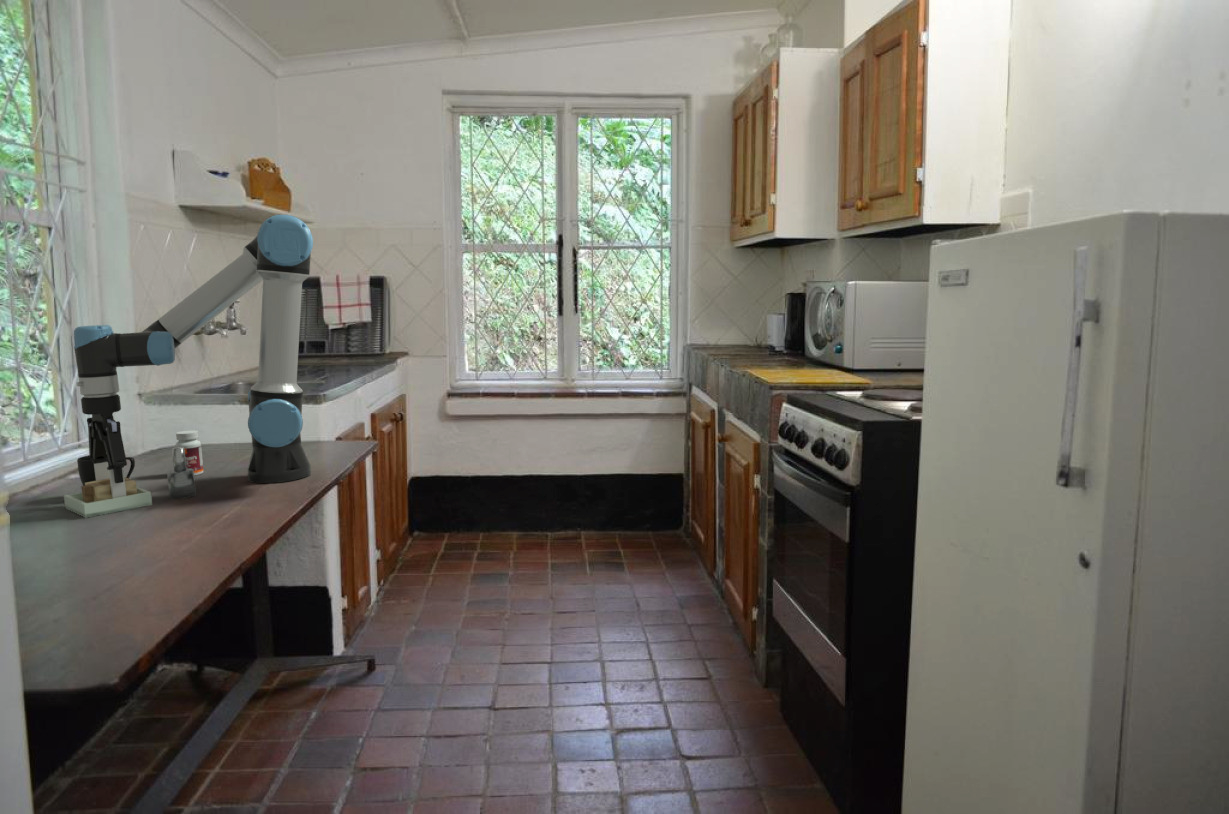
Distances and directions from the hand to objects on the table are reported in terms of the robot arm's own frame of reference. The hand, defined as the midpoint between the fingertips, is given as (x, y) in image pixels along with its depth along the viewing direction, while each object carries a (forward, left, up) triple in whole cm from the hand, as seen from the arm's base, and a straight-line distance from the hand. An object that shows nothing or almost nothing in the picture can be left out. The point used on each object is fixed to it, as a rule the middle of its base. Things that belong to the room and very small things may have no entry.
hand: (111, 493), depth 200 cm
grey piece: (-12, -7, -3) cm, 15 cm away
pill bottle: (-4, -32, -3) cm, 32 cm away
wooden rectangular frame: (0, 0, -1) cm, 1 cm away
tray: (+1, +1, -3) cm, 3 cm away
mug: (+6, -11, -3) cm, 13 cm away
